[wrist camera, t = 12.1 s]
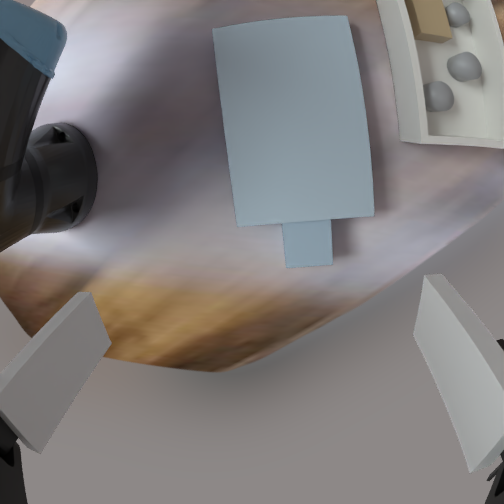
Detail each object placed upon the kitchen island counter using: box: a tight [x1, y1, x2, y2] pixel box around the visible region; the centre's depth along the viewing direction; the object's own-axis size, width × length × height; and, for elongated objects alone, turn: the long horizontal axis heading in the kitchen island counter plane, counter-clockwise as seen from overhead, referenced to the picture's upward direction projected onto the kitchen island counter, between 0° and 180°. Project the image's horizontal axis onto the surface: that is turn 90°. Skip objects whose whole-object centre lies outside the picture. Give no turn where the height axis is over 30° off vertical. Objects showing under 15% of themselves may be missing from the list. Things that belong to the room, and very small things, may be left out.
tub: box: [376, 0, 504, 149], centre depth 21 cm, size 13×20×6 cm, turn 7°
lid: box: [212, 16, 374, 268], centre depth 29 cm, size 14×26×4 cm, turn 7°
